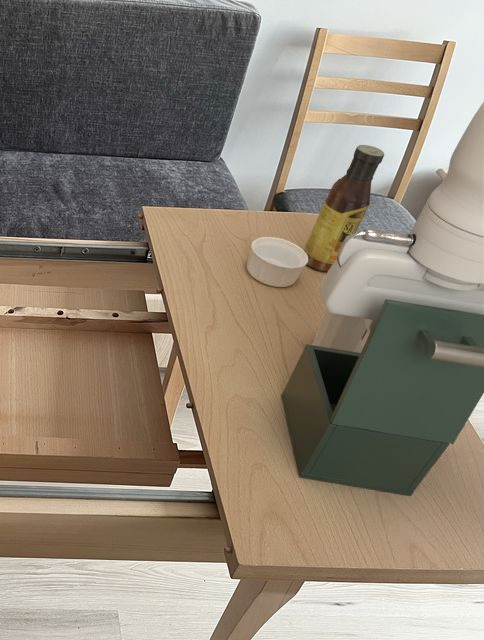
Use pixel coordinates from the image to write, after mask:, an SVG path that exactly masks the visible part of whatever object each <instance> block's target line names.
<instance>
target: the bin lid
mask: <svg viewBox="0 0 484 640" xmlns="http://www.w3.org/2000/svg"><path fill="white" fill-rule="evenodd" d="M483 395H484V315H483V314H476V313H470V312H464V311H457V310H451V309H445V308H438V307H432V306H426V305H419V304H413V303H407V302H400V301H394V300H388V299H385V301H384V303H383V306H382V308H381V310H380V312H379V314H378V317H377V319H376V321H375V323H374V325H373V327H372V330H371V332H370V334H369V336H368V338H367V340H366V343H365V345H364V347H363V349H362V351H361V354H360V356H359V358H358V360H357V362H356V364H355V367H354V369H353V371H352V373H351V375H350V377H349V380H348V382H347V384H346V386H345V388H344V391H343V393H342V395H341V397H340V399H339V401H338V404H337V406H336V408H335V410H334V412H333V414H332V417H331V419H330V420H331V423H332V424H336V425H342V426H348V427H354V428H360V429H366V430H372V431H378V432H384V433H390V434H396V435H402V436H408V437H414V438H420V439H426V440H432V441H438V442H444V443H449V445H454V444H455V442H456V440H457V438H458V437H459V435H460V433H461V432H462V430H463V429H464V427H465V425H466V424H467V422H468V421H469V418H470V417H471V415H472V414H473V412H474V410H475V408H476V407H477V405H478V403H479V402H480V401H481V398H482V397H483Z"/></svg>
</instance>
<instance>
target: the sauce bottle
mask: <svg viewBox="0 0 484 640" xmlns="http://www.w3.org/2000/svg"><path fill="white" fill-rule="evenodd" d="M384 157H385V152H384V151H383V150H381V148H379V147H376V146H373V145H367V144H359V145H357V147H356V148H355V151H354V153H353V158H352V160H351V162H350V165H349V167H348V168H347V170H346V173H345V174H344V175H343V176H342V177H341V178H338V179H337V180H336V181H335V182H334V183H333V185H332V186H331V188H330V189H329V192H328V195H327V197H326V199H325V200H324V202H323V204H322V207H321V209H320V211H319V213H318V216H317V218H316V221H315V223H314V225H313V228H312V230H311V232H310V234H309V235H308V236H309V237H308V238H307V240H306V244H305V246H304V249H303V250H304V251H305V252H306V254H307V256H308V263H307V264H306V265H307V266H308V267H310V268H312V269H314V270H317V271H321V272H328V271H329V269H330V268H331V266H332V265H333V263H334V262H335V260H336V259H337V255H338V252H339V250H340V248H341V245H342V243H343V241H344V240H345V239H346V237H348V236H350V235H352V234H354V233H357V232H358V230H359V227H360V225H361V223H362V222H363V219H364V217H365V215H366V213H367V211H368V209H369V206H370V204H371V191H372V181H373V179H374V176H375V174H376V171H377V169H378V167H379V165H380V164H381V163H382V162H383V160H384Z"/></svg>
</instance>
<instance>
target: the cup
mask: <svg viewBox="0 0 484 640" xmlns="http://www.w3.org/2000/svg"><path fill="white" fill-rule="evenodd" d="M366 329H367V327H366V322H365V319H363V318H357V317H351V316H345V315H338V314H332V313H329V312H328V311H327V309H326V308H325V310H324V313H323V315H322V317H321V321H320V323H319V326H318V329H317V331H316V333H315V336H314V339H313V341H312V343H311V345H312V346H313V345H315V346H321V347H327V348H333V349H340V350H346V351H352V352H358V353H361V351H362V349H363V346H362V339H361V338H362V336H363V335H364V333H365V331H366Z"/></svg>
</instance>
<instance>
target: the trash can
mask: <svg viewBox="0 0 484 640" xmlns="http://www.w3.org/2000/svg"><path fill="white" fill-rule="evenodd" d="M360 354H361V353H358V352H352V351H346V350H340V349H333V348H327V347H321V346H315V345H313V346H312V344H305V346H304V348H303V350H302V352H301V354H300V356H299V358H298V360H297V363H296V365H295V367H294V369H293V371H292V372H291V375H290V377H289V379H288V381H287V383H286V384H285V387H284V389H283V391H282V394H281V395H280V396H281V401H282V406H283V411H284V415H285V419H286V422H287V423H286V424H287V429H288V432H289V437H290V442H291V447H292V450H293V455H294V459H295V464H296V468H297V473H298V477H299V478H301V479H307V480H313V481H318V482H324V483H329V484H335V485H343V486H347V487H353V488H359V489H360V488H361V489H365V490H372V491H378V492H384V493H389V494H394V495H395V494H396V495H401V496H407V497H412V495H413V494H414V493H415V491H416V489H417V488H418V487H419V485H421V483H422V482H423V480H424V479H425V478H426V476H427V475H428V474H429V472H430V471H431V470H432V468H433V467H434V466H435V464H436V463H437V462H438V460H439V459H440V458H441V456H442V455H443V454H444V452H445V451H446V450H447V448H448V447H449V446H450V443H444V442H438V441H432V440H426V439H420V438H414V437H408V436H402V435H396V434H390V433H384V432H378V431H372V430H366V429H360V428H354V427H348V426H342V425H336V424H332V423H331V420H330V419H331V417H332V414H333V412H334V410H335V408H336V406H337V404H338V401H339V399H340V397H341V395H342V393H343V391H344V388H345V386H346V384H347V382H348V380H349V377H350V375H351V373H352V371H353V369H354V367H355V364H356V362H357V360H358V358H359V356H360Z"/></svg>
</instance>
